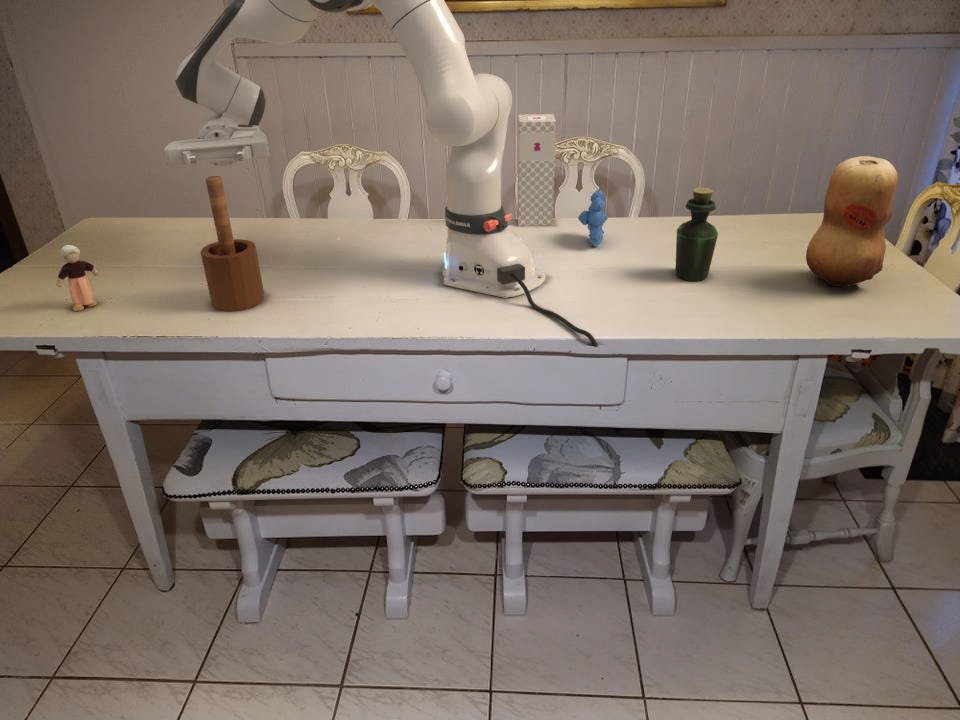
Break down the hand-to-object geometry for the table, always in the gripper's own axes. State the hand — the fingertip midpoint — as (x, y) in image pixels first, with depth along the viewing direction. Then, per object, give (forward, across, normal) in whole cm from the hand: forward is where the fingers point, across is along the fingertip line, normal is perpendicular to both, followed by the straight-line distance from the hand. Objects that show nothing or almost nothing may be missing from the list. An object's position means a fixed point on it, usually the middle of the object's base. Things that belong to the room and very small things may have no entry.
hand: (216, 159), depth 143 cm
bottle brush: (+12, 0, +25) cm, 27 cm away
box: (-16, +72, +26) cm, 78 cm away
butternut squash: (+40, +117, +26) cm, 126 cm away
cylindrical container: (+12, 0, +25) cm, 28 cm away
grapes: (+3, +79, +26) cm, 83 cm away
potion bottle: (+27, +91, +26) cm, 99 cm away
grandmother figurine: (+5, -29, +25) cm, 39 cm away
